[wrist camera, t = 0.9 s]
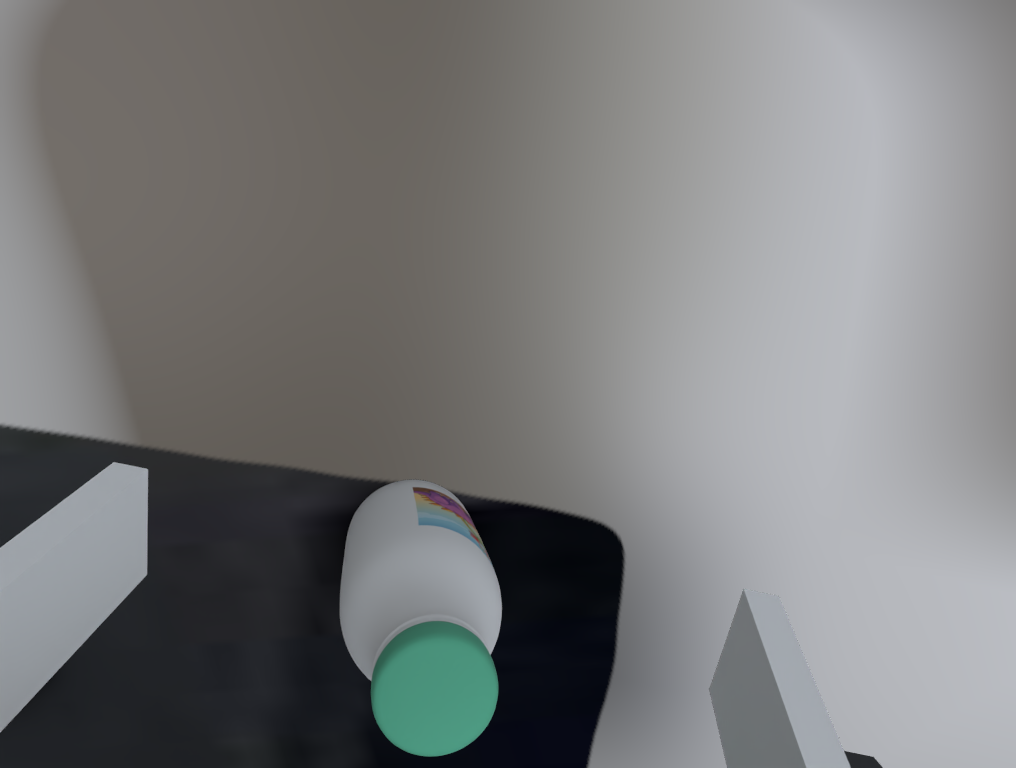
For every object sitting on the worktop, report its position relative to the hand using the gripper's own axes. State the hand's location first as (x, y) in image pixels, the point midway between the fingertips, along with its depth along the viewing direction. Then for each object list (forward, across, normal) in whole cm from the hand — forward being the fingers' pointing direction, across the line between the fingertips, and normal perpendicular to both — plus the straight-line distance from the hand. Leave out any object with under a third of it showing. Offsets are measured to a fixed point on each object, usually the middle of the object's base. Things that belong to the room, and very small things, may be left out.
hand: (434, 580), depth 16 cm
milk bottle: (+26, +4, +16) cm, 31 cm away
